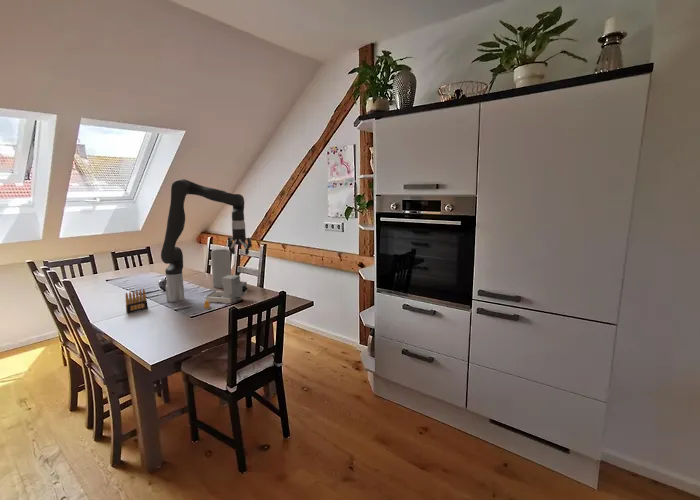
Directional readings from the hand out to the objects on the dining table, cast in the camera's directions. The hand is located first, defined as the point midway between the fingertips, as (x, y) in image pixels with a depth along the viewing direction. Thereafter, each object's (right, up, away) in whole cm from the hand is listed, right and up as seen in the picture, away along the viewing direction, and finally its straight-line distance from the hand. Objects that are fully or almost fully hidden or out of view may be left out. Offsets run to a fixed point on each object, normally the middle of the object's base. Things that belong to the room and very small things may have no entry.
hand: (240, 254), depth 217 cm
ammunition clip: (-55, -32, -12) cm, 65 cm away
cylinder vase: (-24, -23, +36) cm, 49 cm away
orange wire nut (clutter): (-17, -31, -7) cm, 36 cm away
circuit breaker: (-4, -29, +6) cm, 30 cm away
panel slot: (-12, -28, +8) cm, 32 cm away
